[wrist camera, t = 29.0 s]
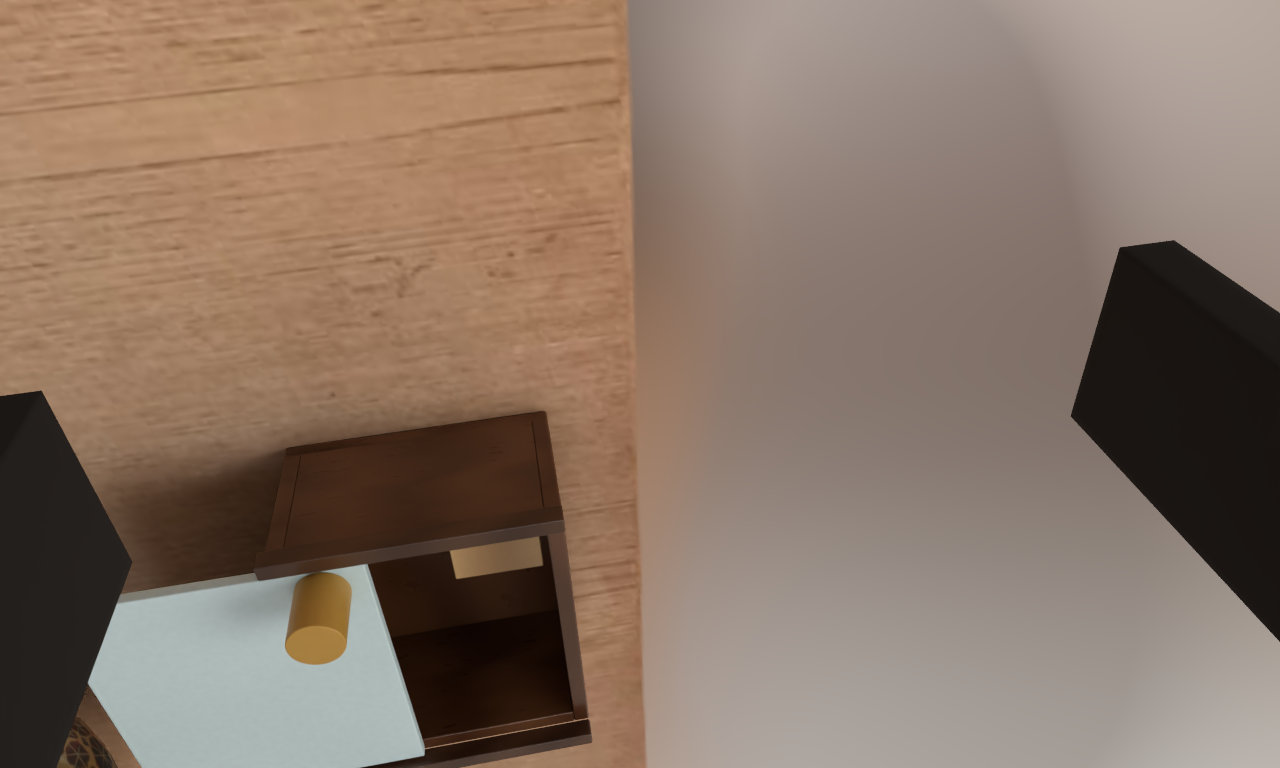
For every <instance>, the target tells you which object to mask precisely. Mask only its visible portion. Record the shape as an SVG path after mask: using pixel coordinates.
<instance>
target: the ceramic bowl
mask: <svg viewBox="0 0 1280 768" xmlns="http://www.w3.org/2000/svg"><path fill="white" fill-rule="evenodd" d="M57 768H118V767H117V765H116V763H115V761H114V759H113V758H112V756H111V754H110V753H109V752H108V750H107V749H106V747H105V745H104V744H103V743H102V741H101V740H100V739H99V738H98V737H97V736H96V735H95V734H94V733H93V731H92V730H91V729H90V728H89V727H88V726H87V725H86V724H85V723H84V722H83V721H82V720H80V719H79V718H77V717H76V716H75V719H74V722H73V724H72V727H71V730H70V732H69V735H68V738H67V741H66V743H65V746H64V749H63V751H62V754H61V757H60V760H59V762H58V765H57Z"/></svg>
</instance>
